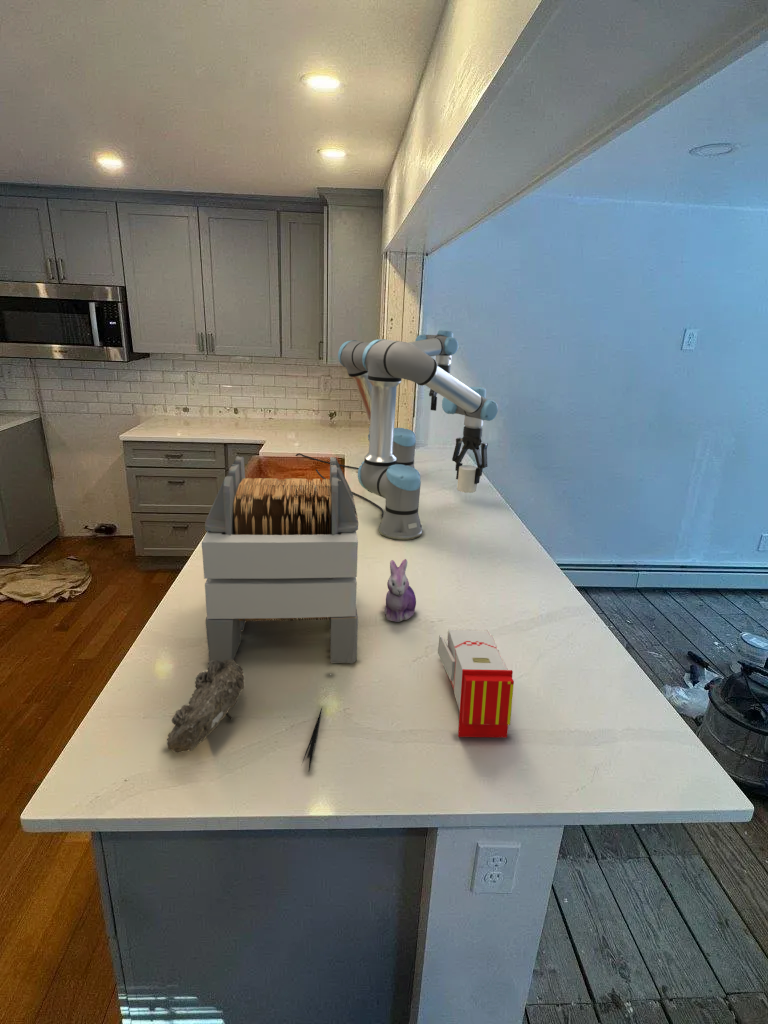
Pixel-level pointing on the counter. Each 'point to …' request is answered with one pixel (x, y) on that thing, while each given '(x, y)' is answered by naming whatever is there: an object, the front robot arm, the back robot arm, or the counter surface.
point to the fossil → (206, 705)
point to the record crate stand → (281, 558)
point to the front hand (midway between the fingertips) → (467, 481)
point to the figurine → (399, 594)
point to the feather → (313, 740)
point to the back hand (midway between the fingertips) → (439, 408)
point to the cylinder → (467, 479)
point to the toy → (478, 682)
